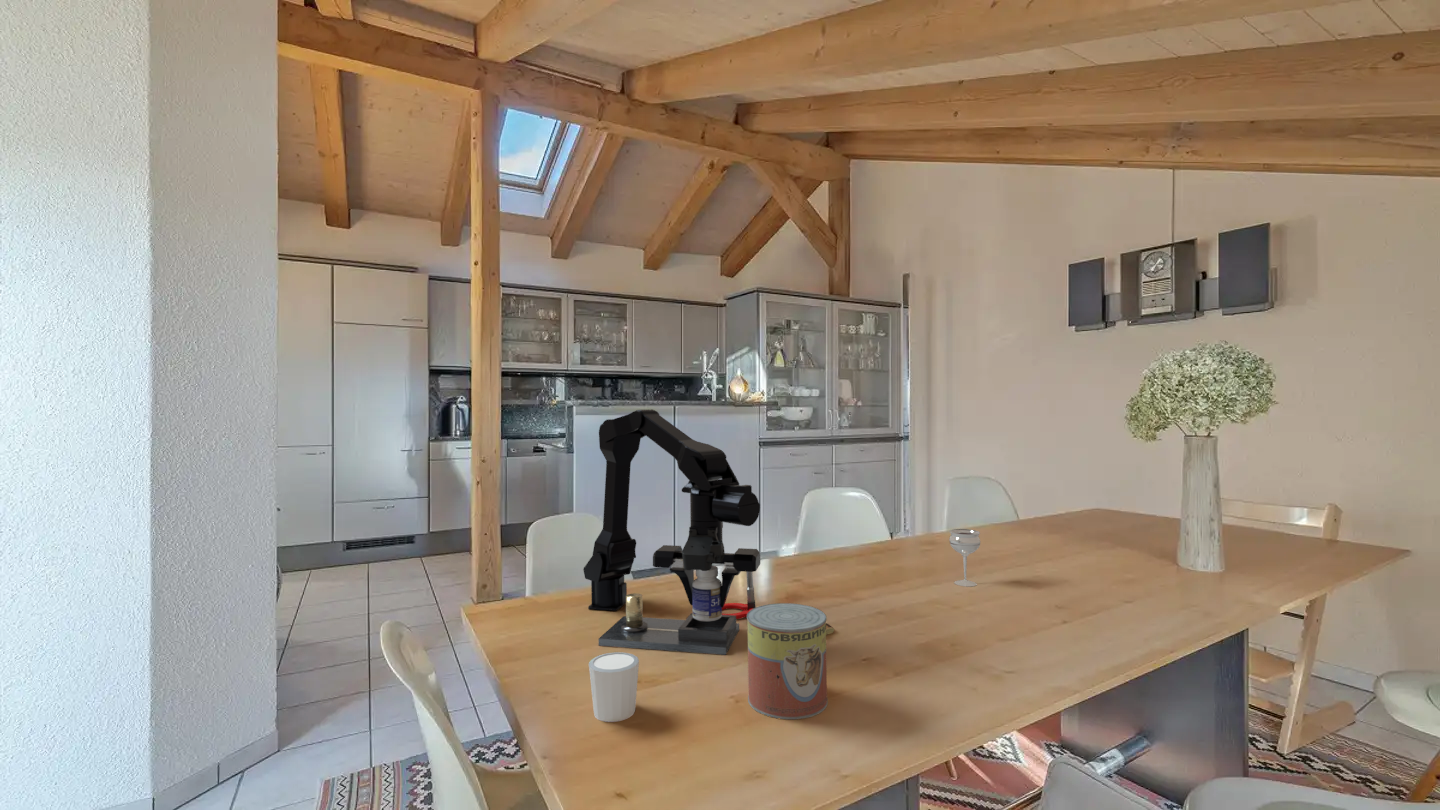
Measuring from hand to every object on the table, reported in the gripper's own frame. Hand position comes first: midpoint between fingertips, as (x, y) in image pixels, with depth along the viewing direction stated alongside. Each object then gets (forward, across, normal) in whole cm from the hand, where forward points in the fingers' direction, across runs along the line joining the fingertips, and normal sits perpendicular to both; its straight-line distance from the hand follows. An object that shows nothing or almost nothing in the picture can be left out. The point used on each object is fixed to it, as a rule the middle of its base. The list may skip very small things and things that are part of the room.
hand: (707, 605), depth 112 cm
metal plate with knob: (+6, -7, 0) cm, 9 cm away
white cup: (+6, -6, -28) cm, 30 cm away
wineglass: (+6, +51, +45) cm, 68 cm away
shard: (+7, +17, +9) cm, 20 cm away
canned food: (+6, +17, -20) cm, 27 cm away
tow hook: (+6, +2, +15) cm, 16 cm away
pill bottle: (+2, 0, 0) cm, 2 cm away
